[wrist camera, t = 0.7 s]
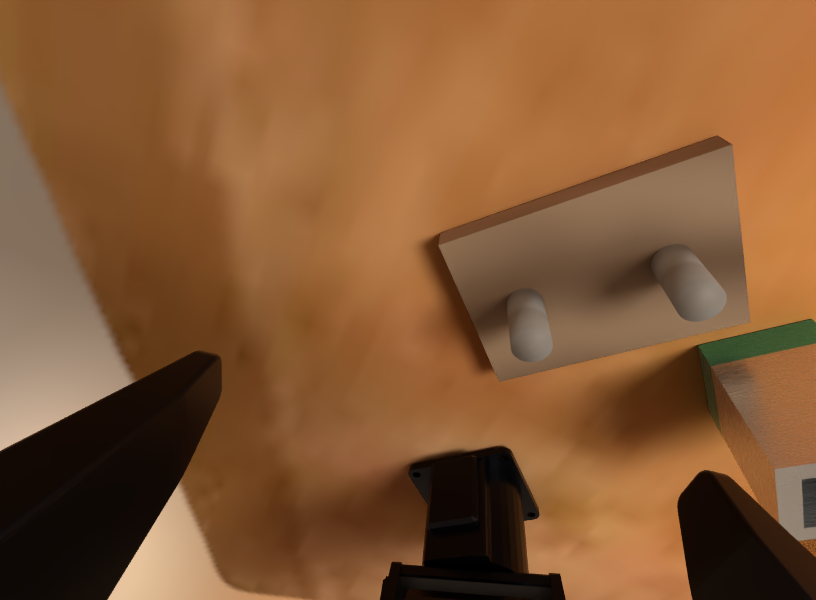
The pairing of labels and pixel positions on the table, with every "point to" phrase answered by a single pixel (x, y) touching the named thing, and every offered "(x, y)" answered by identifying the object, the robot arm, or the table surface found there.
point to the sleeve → (769, 416)
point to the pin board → (606, 263)
